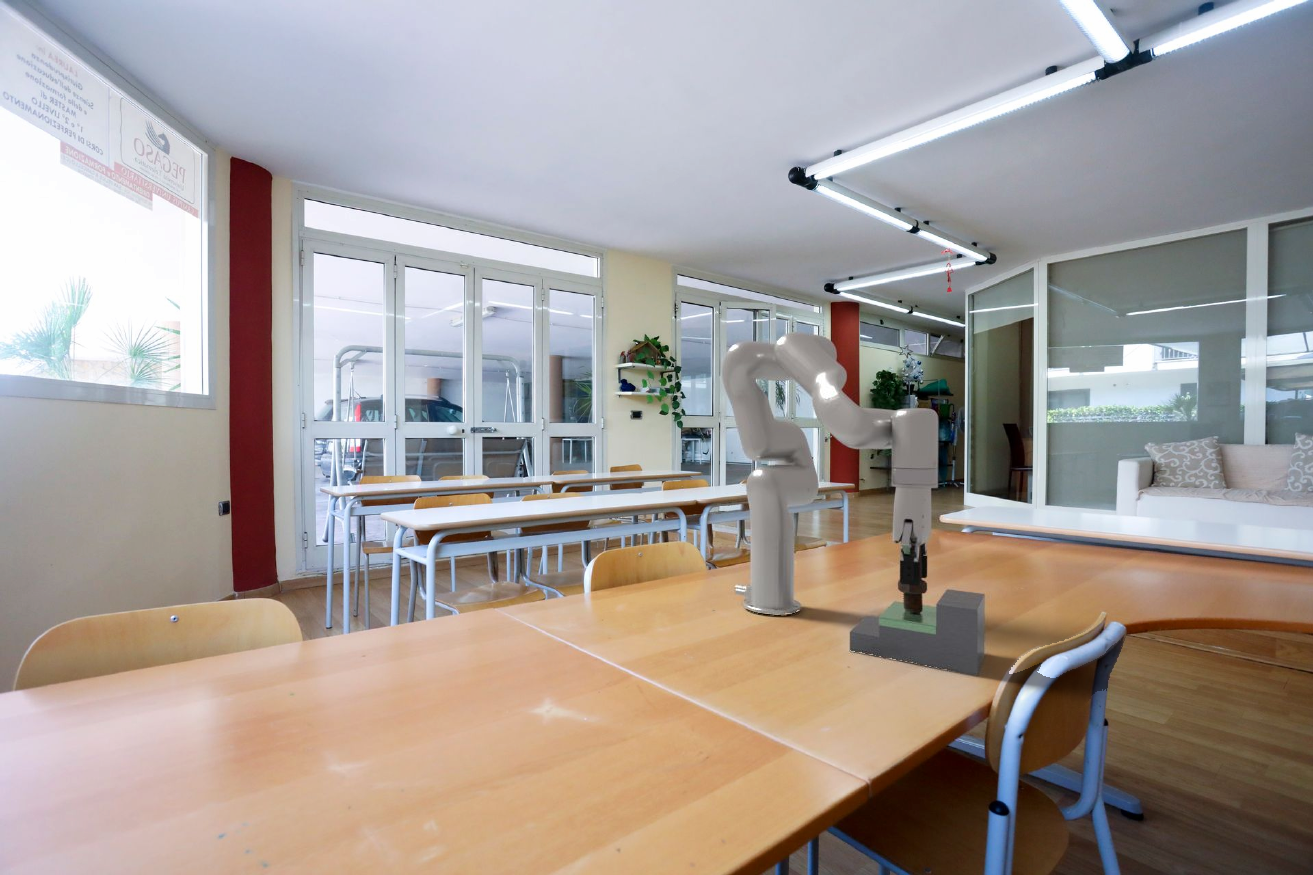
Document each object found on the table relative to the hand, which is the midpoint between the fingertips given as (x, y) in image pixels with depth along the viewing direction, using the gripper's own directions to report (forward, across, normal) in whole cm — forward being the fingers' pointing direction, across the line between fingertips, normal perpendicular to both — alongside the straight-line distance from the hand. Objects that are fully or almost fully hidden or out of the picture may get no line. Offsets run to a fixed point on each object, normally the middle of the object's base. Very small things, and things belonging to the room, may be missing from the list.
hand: (913, 579), depth 107 cm
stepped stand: (+13, 0, +1) cm, 13 cm away
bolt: (+6, 0, 0) cm, 6 cm away
